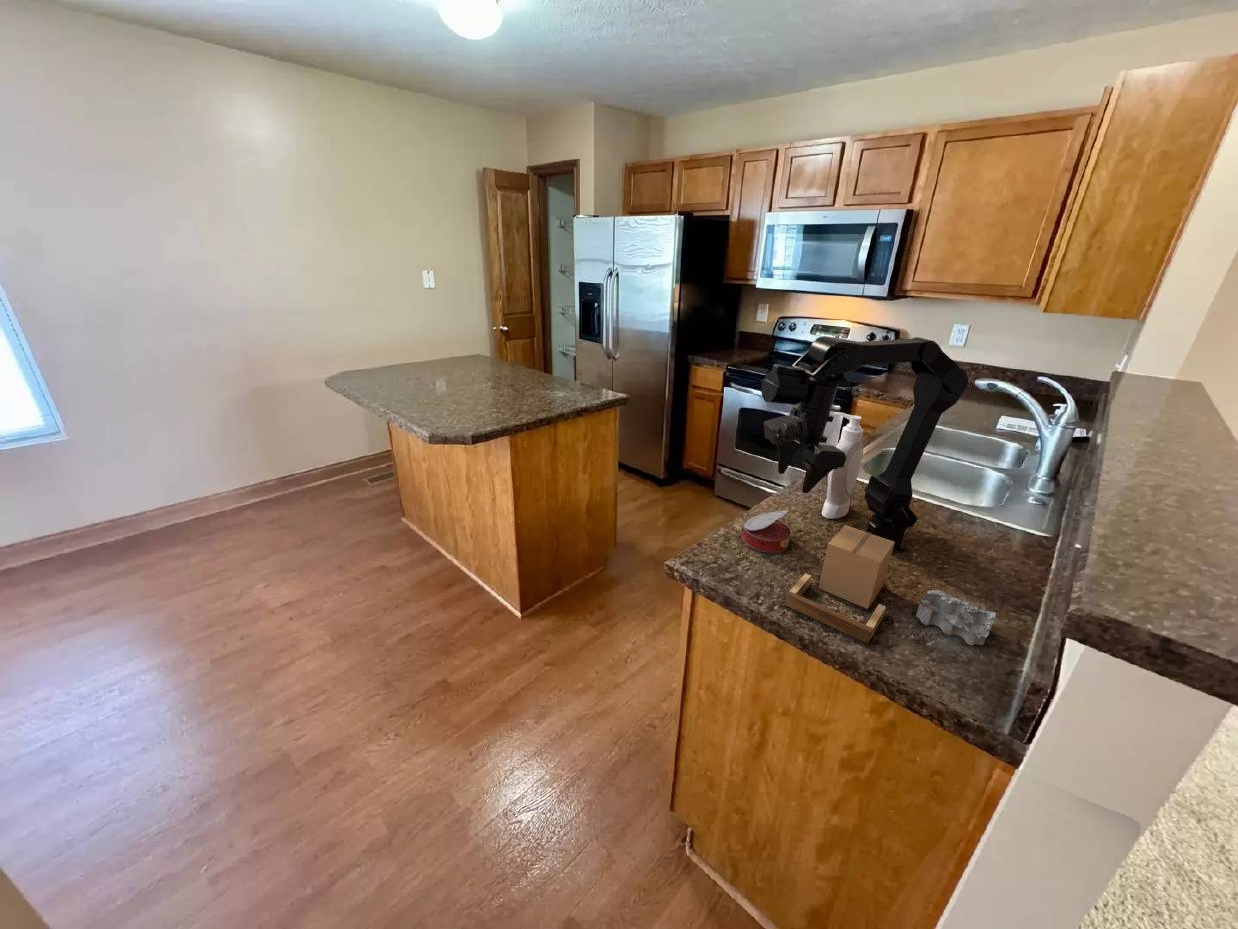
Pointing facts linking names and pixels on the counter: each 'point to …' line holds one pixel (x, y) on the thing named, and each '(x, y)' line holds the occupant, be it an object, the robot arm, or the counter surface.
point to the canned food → (767, 532)
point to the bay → (832, 613)
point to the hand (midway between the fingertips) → (792, 482)
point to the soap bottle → (845, 469)
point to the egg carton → (955, 616)
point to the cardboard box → (856, 565)
